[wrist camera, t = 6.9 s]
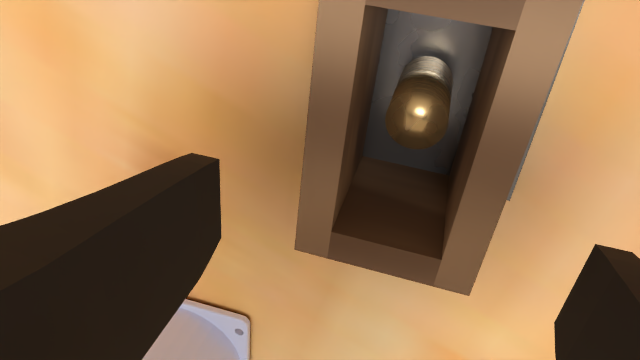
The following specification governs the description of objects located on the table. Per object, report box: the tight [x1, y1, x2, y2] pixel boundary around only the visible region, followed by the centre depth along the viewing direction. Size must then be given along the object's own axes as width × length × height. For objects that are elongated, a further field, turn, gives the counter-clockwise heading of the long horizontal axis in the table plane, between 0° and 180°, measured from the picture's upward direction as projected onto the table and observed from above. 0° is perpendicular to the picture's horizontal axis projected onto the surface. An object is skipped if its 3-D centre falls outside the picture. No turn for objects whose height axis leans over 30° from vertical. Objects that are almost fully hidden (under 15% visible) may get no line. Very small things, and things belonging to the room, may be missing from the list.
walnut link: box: [295, 0, 584, 296], centre depth 15 cm, size 9×6×5 cm, turn 174°
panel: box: [362, 1, 584, 201], centre depth 16 cm, size 8×8×4 cm
